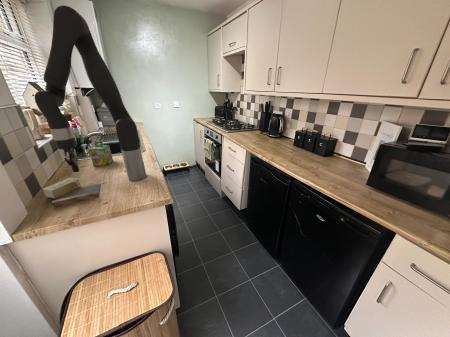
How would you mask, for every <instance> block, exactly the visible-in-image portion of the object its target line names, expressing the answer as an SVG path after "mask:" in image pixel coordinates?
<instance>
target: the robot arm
mask: <svg viewBox="0 0 450 337" xmlns="http://www.w3.org/2000/svg"><path fill="white" fill-rule="evenodd" d="M52 23H53V24H52V38H51V45H50V50H49V55H48V59H47V62H46V67H45V70H44V73H43V81H44V83H45V89H44V90H38V91H37V92H36V93H35V94H34V101H35V104H36V106H37V108H38V110H39V111H40V112H41V115H43V116H44V118H45V119H46V122H47V124H48V127H49V130H50V134H51V136H52V139H53V142H54V144H55V148H56V149H57V150H62V151H63V153H62V154H63V156H64V161H65V162H66V163H67V165H68V166H71V169H72V171H73V173H79V172H80V168H79V165H78V156H77V155H78V154H77V151H76V149H75V148H76V147H77V146H78V143H77V140H76V137H75V134H74V132H73V130H72V127H71V124H70V121H69V118H68V116H66V114H65V113H62V111H61V109H60V108H61V106H63V104H64V103H65V100H66V93H67V92H66V88H67V84H68V82H69V81H68V80H69V78H70V75H71V70H72V57H73V56H72V55H73V50H74V47H75V48H76V50H77V52H78V54H79V56H80V58H81V61H82V65H83V68H84V70H85V74H86V76H87V78H88V80H89V82H90V85H91V86H92V88H93V89H94V91H95V93H96V94H97V96H98V97H99V98H100V100H101V101H102V103H103V104H104V105H105V107H106V109H108V112H109V113H110V115H111V118H112V120H113V122H114V126H115V132H116V137H117V140H118V144H119V148H120V151H121V155H122V158H123V162H124V167H125V172H126V175H127V178H128V180H129V181H130V182H137V181H142V180H143V179H147V178H148V177H147V174H146V173H147V172H146V167H145V163H144V159H143V154H142V149H141V143H140V138H139V132H138V128H137V124H136V122H135V120H134V119H133V118H132V116H131V115H130V113H129V112H128V110H127V108H126V106H125V103H124V102H123V98H122V95H121V93H120V91H119V88H118V86H117V83H116V81H115V79H114V77H113V75H112V73H111V71H110V69H109V68H108V66H107V64H106V62H105V60H104V59H103V57H102V56H101V53H100V51H99V50H98V47H97V46H96V43H95V41H94V38H93V35H92V33H91V32H92V31H91V30H90V27H89V24H88V23H87V21H86V20H85V18H84V17H83V15H81V14H80V13H79V12H78V11H77V10H75V9H74V8H73V7H71V6H67V5H59V6H57V7H56V8H55V9H54V12H53V22H52Z"/></svg>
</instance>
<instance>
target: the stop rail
mask: <svg viewBox="0 0 450 337" xmlns="http://www.w3.org/2000/svg"><path fill="white" fill-rule="evenodd" d="M97 198H99V195H98V193H97V191H96V192H91V193H87V194H82V195H77V196H73V197H68V198H63V199H59V200H57V199H54V200H52V202H51V203H52V206H53V208H57V207H61V206H66V205H70V204H74V203H80V202H84V201H87V200H91V199H92V200H93V199H97Z"/></svg>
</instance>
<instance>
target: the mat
mask: <svg viewBox="0 0 450 337" xmlns="http://www.w3.org/2000/svg"><path fill="white" fill-rule="evenodd" d="M100 189H101V183H96V184H91V185H86V186H81V187H78V188H76V189H74V190H72V191H70V192H68V193H66V194H64V195H61V196H59V197H57V198H56V200H59V199H63V198H68V197H73V196H77V195H82V194H87V193H91V192H96V191H97V193H98V196H99V195H100Z"/></svg>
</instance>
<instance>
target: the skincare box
mask: <svg viewBox="0 0 450 337" xmlns="http://www.w3.org/2000/svg"><path fill="white" fill-rule="evenodd" d="M80 187H82V185H81V182H80V179H79V178H75V177H68V178H65V179H64V180H60V181H59V182H56V183H53V184H51V185H49V186H46V187H44V188H42V190H43V193H44V195H45V196H46V197H48V198H51V199H54V200H56V199H58V197H59V196H61V195H64V194H66V193H68V192H70V191H72V190H74V189H76V188H80Z"/></svg>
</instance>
